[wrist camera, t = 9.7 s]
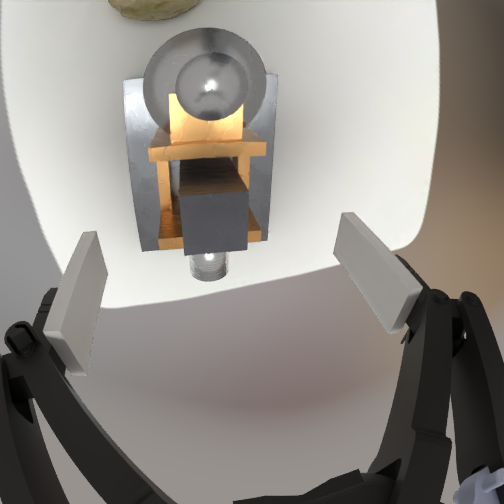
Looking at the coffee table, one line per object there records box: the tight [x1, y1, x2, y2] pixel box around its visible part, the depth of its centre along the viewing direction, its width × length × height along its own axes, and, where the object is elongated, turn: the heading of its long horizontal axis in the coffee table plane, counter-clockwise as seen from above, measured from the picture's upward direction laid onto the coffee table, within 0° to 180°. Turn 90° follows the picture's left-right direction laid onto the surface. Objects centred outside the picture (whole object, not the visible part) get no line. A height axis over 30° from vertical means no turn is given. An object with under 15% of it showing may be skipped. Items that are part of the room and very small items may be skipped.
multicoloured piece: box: [123, 28, 278, 281], centre depth 22 cm, size 22×14×12 cm, turn 178°
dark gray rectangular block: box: [179, 157, 249, 256], centre depth 23 cm, size 4×4×12 cm
